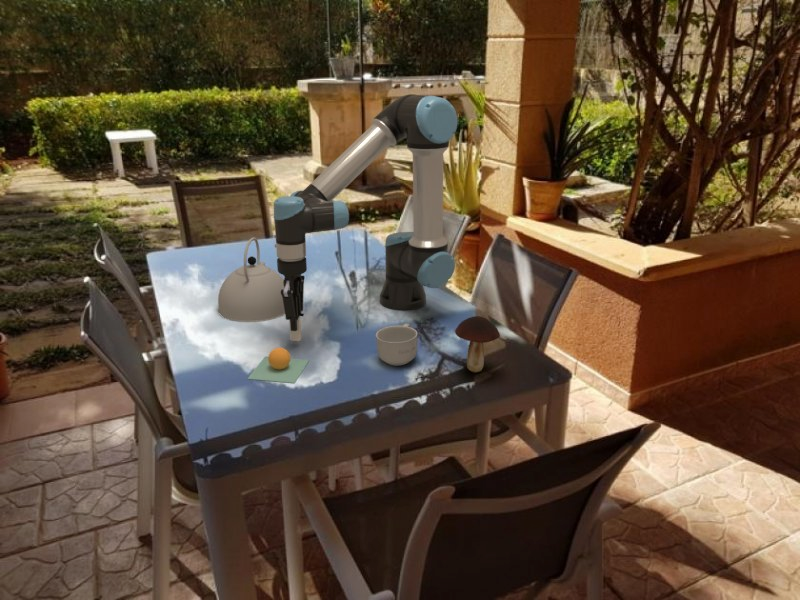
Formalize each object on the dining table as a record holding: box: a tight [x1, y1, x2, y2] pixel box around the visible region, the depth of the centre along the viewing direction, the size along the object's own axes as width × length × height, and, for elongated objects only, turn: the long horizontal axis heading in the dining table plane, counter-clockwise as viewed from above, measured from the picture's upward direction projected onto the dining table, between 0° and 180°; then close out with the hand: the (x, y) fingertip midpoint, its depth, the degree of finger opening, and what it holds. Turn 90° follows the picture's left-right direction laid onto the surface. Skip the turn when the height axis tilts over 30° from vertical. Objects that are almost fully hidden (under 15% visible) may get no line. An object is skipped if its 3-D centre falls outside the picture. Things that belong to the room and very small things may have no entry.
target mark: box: [247, 356, 310, 384], centre depth 150 cm, size 12×12×1 cm
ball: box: [267, 347, 291, 369], centre depth 150 cm, size 6×6×6 cm
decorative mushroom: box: [454, 315, 501, 373], centre depth 148 cm, size 11×11×15 cm
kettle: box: [217, 236, 285, 323], centre depth 185 cm, size 25×23×23 cm
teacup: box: [375, 323, 418, 367], centre depth 155 cm, size 14×11×8 cm
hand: (296, 339), depth 162 cm, fingers closed
